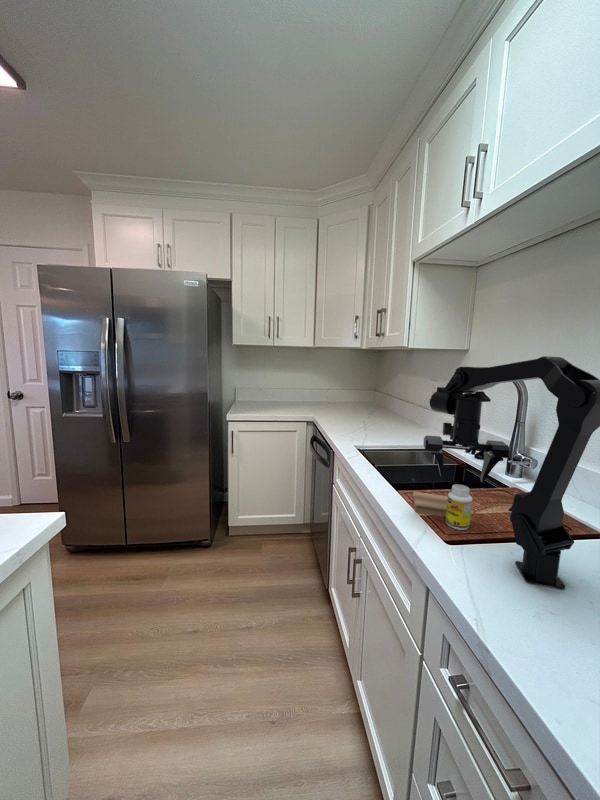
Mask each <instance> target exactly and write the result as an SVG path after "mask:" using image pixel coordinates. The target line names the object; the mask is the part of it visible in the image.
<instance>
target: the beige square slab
mask: <svg viewBox="0 0 600 800" xmlns="http://www.w3.org/2000/svg"><path fill="white" fill-rule="evenodd" d="M412 500H413V506H414V513H416V514H421V515H422V514H424V515H430V516H438V517H443V518H444V517H445V518H446V511H447V500H448V495H442V494H434V493H426V492H419V491H413V495H412Z"/></svg>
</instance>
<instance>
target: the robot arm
mask: <svg viewBox="0 0 600 800" xmlns="http://www.w3.org/2000/svg"><path fill="white" fill-rule="evenodd" d="M539 379H540V380H541V381H542V382H543V384H544V386H545V387H546V390H548V392H550V394H551V395H553V396H555V398H556V399H557V401H556V402H557V403H556V407H555V411H556V417H557V422H558V424H557V428H556V430H555V433H554V436H553V438H552V441H551V443H550V445H549V448H548V450H547V453H546V455H545V457H544V460H543V463H542V464H541V467H540V470H539V472H538V473H537V476H536V479H535V482H534V483H533V486H532V489H531V490H530V491H528V492H522V493H521V492H520V493H516V494H515V495H514V498H513V502H512V504H511V505H512V506H511V507H510V508H509V509H508V511H509V512H510V514H509V515H510V516H509V521H510V523H511V525H512V526H511V527H512V530H513V535H514V538H515V544H516V545H518V546H520V547H521V548H522V550H523V553H522V554H523V557H522V561H519V560H516V561H514V562H515V563H514V564H515V566H516V567H517V569H518V571H519V573H520V574H521V576H522V578H523V580H524V581H525V582H526V583H528V584H533V585H538V586H539V585H540V586H546V587H551V588H555V589H556V588H557V589H560V590H565V589H566V584H564V582H563V580H562V579H561V578H560V577H559V569H560V562H561V554H562V551H564V550H571V548H572V546H574V544H575V540H574V539H573V537H572V536H571V534H570V533H569V531H568V529H566V527H565V525H564V524H563V520H564V515H565V511H564V506H563V503H562V502H563V501H562V500H563V498H564V496H565V493H566V491H567V489H568V487H569V485H570V483H571V480H572V477H573V476H574V474H575V471H576V470H577V467H578V465H579V463H580V460H581V458H582V457H583V454H584V452H585V450H586V448H587V446H588V443H589V441H590V439H591V437H592V435H593V434H594V432H595V431H596V430H597V429H599V428H600V379H599V378H598V376H595V375H593V374H592V373H590V372H588V371H586V370H583V369H582V368H579V367H578V366H575V365H573V364H572V363H571V362H569V361H568V360H567V359H565V358H564V357H561V356H549V355H548V356H544V355H543V356H540V357H538V358H535V359H528V360H524V361H523V360H521V361H518V362H512V363H511V362H510V363H506V364H500V365H494V366H487V367H486V366H485V367H484V366H459V367H457V368H456V369H455V372H454V374H453V375H452V377H451V378H450V380H449V381H448V383H447V384H446V385H445V386H437V387H436V391H435V392H433V394H432V395H431V397H430V399H429V406H430V408H431V410H432V411H433V412H436V413H440V414H441V413H442V414H447V415H451V416H454V419H453V425H452V423H451V422H443V424H442V425H443V426H442V435H443V436H448V437H449V440H443V439H442V437H441V436H439V435H428V434H427V435H425V436H424V437H423V445H422V446H423V448H424V451H428V452H429V454H430V455H433V456H434V457H435V459H436V463H437V466H438V470H439V475H440V478H441V479H443V478H444V473H445V471H444V469H445V468H444V464H445V463H444V452H443V451H442V450H443V449H451V450H452V449H455V450H463V451H475V452H483V463H482V467H481V473H480V482H481V483H484V482H485V481H486V479H487V478H488V476H489V474H490V473H491V471H492V470H493V469H494V467H495V466H496V465H497V464H498V463H499V462H504V459H511V452H512V451H511V447H510V446H509V445H508V444H506V443H505V442H504V441H502V440H501V441H500V440H499V441H498V440H486V443H480V442H479V436H480V430H481V416H482V405H483V403H490V402H491V398H490V397H489V396H488V395H487V394H486V393H485V391H484V390H488V389H490V388H494V386H496V385H498V384H499V385H500V384H503V383H512V382H513V383H514V382H522V381H530V380H531V381H533V380H539Z"/></svg>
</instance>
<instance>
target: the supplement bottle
mask: <svg viewBox="0 0 600 800" xmlns="http://www.w3.org/2000/svg"><path fill="white" fill-rule="evenodd" d="M447 496H448V500H447V511H446V517H445V523H446V525H447V526H448V527H450V528H453V530H454V529H455V530H460V531H465V530H466V531H467V530H468V529H469V528H470V526H471V525H470V524H471V514H472V504H473V497H472V496H471V495H470V487H468V486H467V485H464V484H458V483H457V484H456V483H455V484H453V485H452V486H451V491H449V492H448V493H447Z"/></svg>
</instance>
